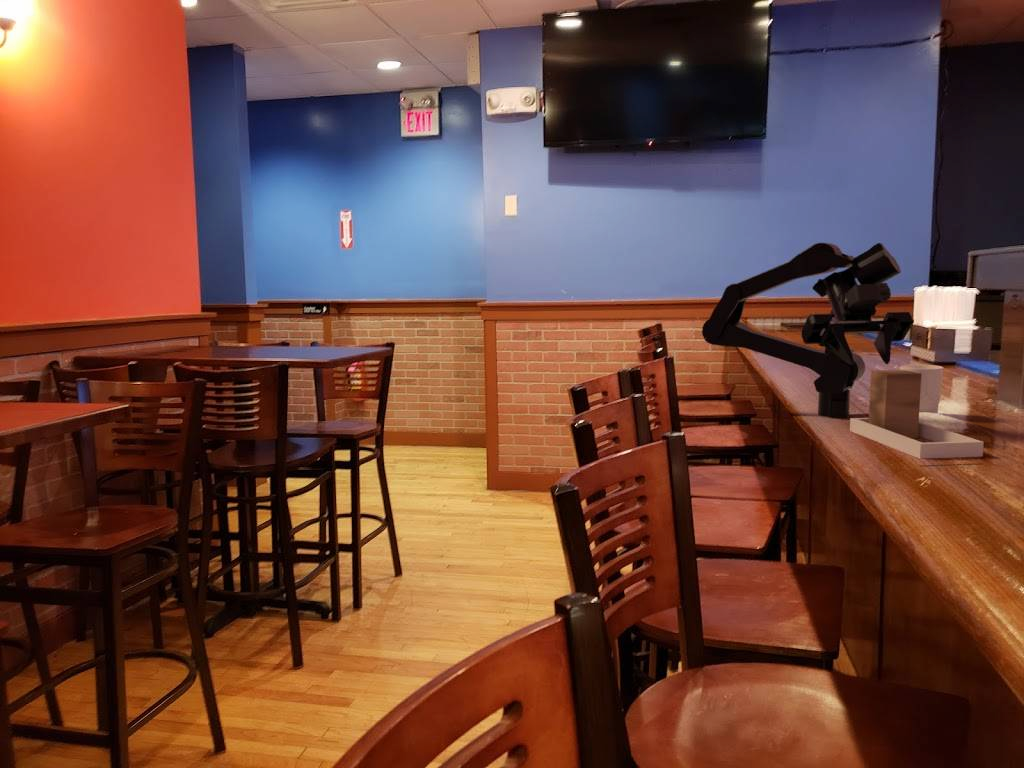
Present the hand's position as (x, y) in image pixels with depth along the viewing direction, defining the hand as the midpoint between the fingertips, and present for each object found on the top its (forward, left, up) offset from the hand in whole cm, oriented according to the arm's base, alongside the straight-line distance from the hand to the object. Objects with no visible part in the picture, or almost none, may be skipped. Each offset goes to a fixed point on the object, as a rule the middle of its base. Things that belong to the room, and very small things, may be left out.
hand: (870, 363), depth 139 cm
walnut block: (+6, +2, -12) cm, 14 cm away
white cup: (-20, +17, -13) cm, 30 cm away
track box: (+12, +3, -13) cm, 18 cm away
